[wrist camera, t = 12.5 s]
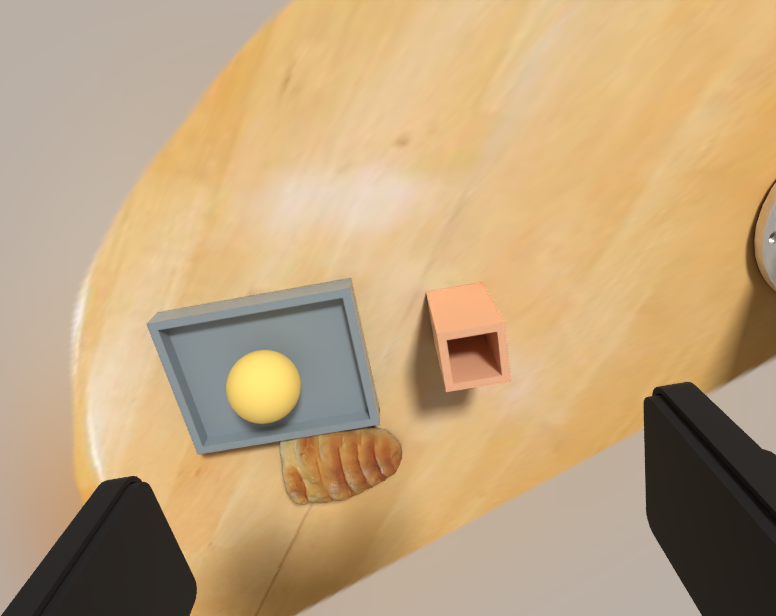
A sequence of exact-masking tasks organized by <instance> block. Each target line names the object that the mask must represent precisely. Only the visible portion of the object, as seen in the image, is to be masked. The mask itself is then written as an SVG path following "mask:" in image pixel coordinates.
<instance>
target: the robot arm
mask: <svg viewBox="0 0 776 616" xmlns="http://www.w3.org/2000/svg"><path fill="white" fill-rule="evenodd" d="M754 243H755V257H756V260H757V264H758V267H759V270H760V272H761V274H762V276H763V277H764V279H765V281H766V282H767V283H768V284H769V285H770V286H771V287H772V288H773V289H774V290H775V291H776V183H775V184H774V186H773V187H772V189H771V191H770V192H769V194H768V196H767V198H766V200H765V202H764V204H763V206H762V209H761V212H760V215H759V218H758V221H757V225H756V232H755V239H754ZM644 439H645V440H644V441H645V478H646V479H645V480H646V513H647V519H648V522H649V525H650V528H651V530H652V532H653V534H654V536H655V538H656V539H657V541H658V543H659V544H660V546H661V548H662V549H663V551H664V553H665V554H666V556H667V558H668V559H669V561H670V563H671V564H672V566H673V568H674V569H675V571H676V573H677V575H678V576H679V578H680V580H681V581H682V583H683V584H684V586H685V588H686V589H687V591H688V593H689V595H690V596H691V598H692V599H693V601H694V603H695V604H696V606H697V608H698V610H699V611H700V613H701V614H702V616H776V455H775V454H773V453H772V452H770V451H767V450H764V449H761V448H760V447H759V445H757V444H756V443H755V442H754V441H753V440H752V439H751V438H750V437H749V436H748V435H747V434H746V433H745V432H744V431H743V430H742V429H741V428H739V426H737V425H736V424H735V423H734V422H733V421H732V420H731V419H730V418H729V417H728V416H727V415H726V414H725V413H724V412H723V411H722V410H721V409H720V408H719V407H718V406H716V405H715V404H714V403H713V402H712V401H711V400H710V399H709V398H708V397H707V396H706V395H705V394H704V393H703V392H702V391H701V390H700V389H699V388H698V387H696V386H695V385H694V384H693V383H691V382H684V383H678V384H672V385H666V386H660V387H656V388H655V389H654V390H653V394H652V396H651V397H646V398H645V400H644ZM196 594H197V586H196V581H195V578H194V576H193V574H192V572H191V570H190V568H189V566H188V564H187V562H186V560H185V558H184V555H183V553H182V551H181V549H180V547H179V545H178V543H177V541H176V539H175V537H174V535H173V532H172V530H171V528H170V526H169V524H168V522H167V520H166V518H165V516H164V514H163V512H162V509H161V507H160V505H159V503H158V501H157V499H156V497H155V495H154V493H153V491H152V489H151V487H150V485H149V484H148V483H146V482H142V481H141V479H139V478H138V477H136V476H130V477H124V478H118V479H112V480H107V481H104V482H102V483H101V484H100V485H99V486H98V487H97V489H96V490H95V491H94V493H93V494H92V495H91V497H90V498H89V499H88V501H87V502H86V503H85V505H84V506H83V507H82V509H81V510H80V511H79V513H78V514H77V515H76V517H75V518H74V519H73V521H72V522H71V523H70V525H69V526H68V527H67V529H66V530H65V531H64V533H63V534H62V535H61V536H60V538H59V539H58V541H57V542H56V543H55V545H54V546H53V547H52V548H51V550H50V551H49V552H48V554H47V555H46V556H45V558H44V559H43V561H42V562H41V563H40V565H39V566H38V567H37V569H36V570H35V571H34V572H33V574H32V575H31V576H30V578H29V579H28V580H27V582H26V583H25V584H24V586H23V587H22V588H21V590H20V591H19V593H18V594H17V595H16V596H15V598H14V599H13V600H12V602H11V603H10V604H9V606H8V607H7V609H6V610H5V611H4V612H3V614H2V615H1V616H190V613H191V610H192V608H193V605H194V603H195V599H196Z"/></svg>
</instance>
